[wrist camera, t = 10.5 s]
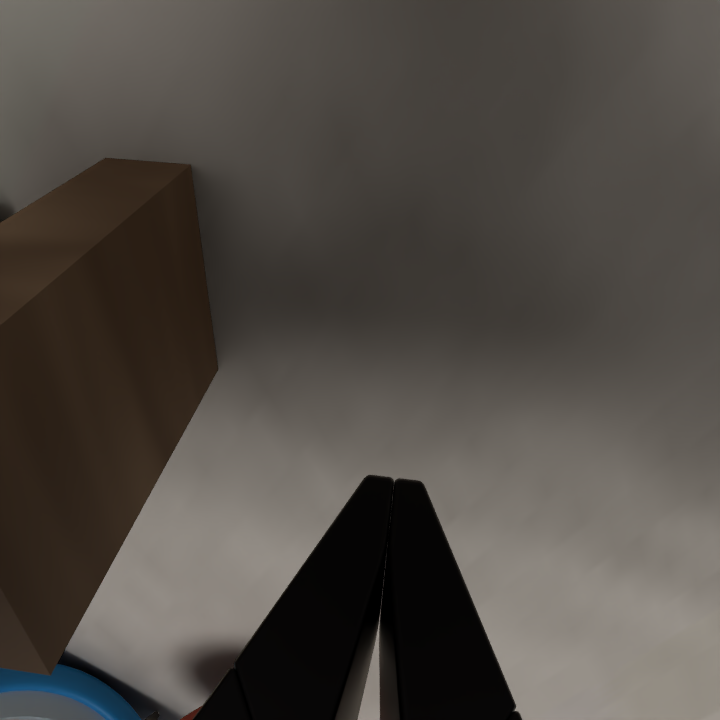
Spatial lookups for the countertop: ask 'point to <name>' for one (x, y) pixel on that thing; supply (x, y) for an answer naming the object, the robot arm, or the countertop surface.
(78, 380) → the tile
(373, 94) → the countertop surface
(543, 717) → the countertop surface
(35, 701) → the alarm clock
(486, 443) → the countertop surface
